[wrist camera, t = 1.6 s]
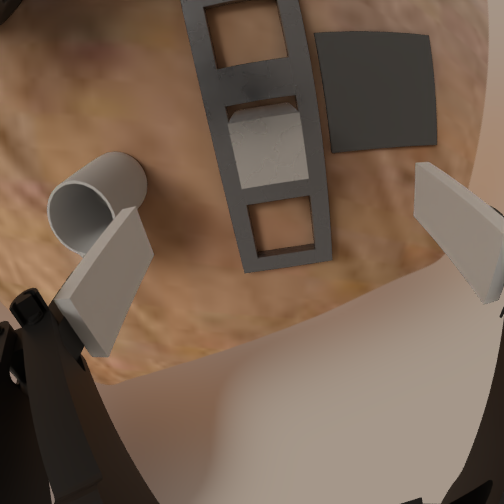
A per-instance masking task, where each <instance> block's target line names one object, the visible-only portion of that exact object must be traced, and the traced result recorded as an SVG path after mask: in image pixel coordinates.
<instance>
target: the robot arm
mask: <svg viewBox="0 0 504 504" xmlns="http://www.w3.org/2000/svg"><path fill="white" fill-rule="evenodd" d="M21 1H22V0H0V25H1V24H2V23H3V22H4V21H5V20H6V19H7V18H8V17H9V16H10V15H11V14H12V13H13V12H14V10H15V9H16V8H17V7H18V5H19V4H20V2H21ZM414 217H415V218H416V219H417V220H418V222H419V223H420V224H421V225H422V226H423V227H424V228H425V229H426V231H427V232H428V233H429V234H430V235H431V237H432V238H433V239H434V240H435V241H436V242H437V244H438V245H439V246H440V247H441V249H442V250H443V251H444V252H445V253H446V255H447V256H448V257H449V258H450V260H451V261H452V262H453V264H454V265H455V266H456V267H457V269H458V270H459V271H460V273H461V274H462V275H463V276H464V278H465V279H466V280H467V282H468V283H469V285H470V286H471V287H472V289H473V290H474V292H475V293H476V294H477V296H478V297H479V298H480V300H481V302H482V303H483V304H488V303H491V302H494V301H497V300H499V298H500V295H501V292H502V290H503V287H504V216H503V215H502V214H501V213H500V212H499V211H498V210H496V209H495V208H493V207H491V206H489V205H488V204H487V203H485V202H484V201H483V200H482V199H480V198H479V197H478V196H476V195H475V194H474V193H473V192H471V191H470V190H469V189H467V188H466V187H464V186H463V185H462V184H460V183H459V182H458V181H456V180H455V179H453V178H452V177H451V176H449V175H448V174H446V173H445V172H443V171H442V170H440V169H439V168H437V167H436V166H434V165H433V164H431V163H430V162H420V163H415V199H414ZM153 256H154V253H153V250H152V248H151V245H150V243H149V240H148V238H147V235H146V232H145V230H144V227H143V224H142V222H141V219H140V216H139V213H138V211H137V208H136V206H134V207H130V208H126V209H122V210H121V211H120V213H119V214H118V215H117V216H116V217H115V219H114V220H113V221H112V222H111V223H110V225H109V226H108V227H107V228H106V230H105V231H104V232H103V233H102V235H101V236H100V237H99V238H98V240H97V241H96V242H95V243H94V245H93V246H92V247H91V249H90V250H89V251H88V252H87V254H86V255H85V256H84V258H83V259H82V260H81V262H80V263H79V264H78V266H77V267H76V269H75V270H74V271H73V272H72V273H71V274H70V276H69V277H68V278H67V280H66V282H65V283H64V284H63V285H62V288H61V289H60V290H59V291H58V293H57V294H56V296H55V297H54V299H53V300H52V301H51V303H50V304H49V306H47V305H46V303H45V301H44V300H43V298H42V296H41V295H40V293H39V292H38V290H37V289H36V288H31V289H28V290H26V291H24V292H22V293H21V294H20V295H18V296H17V297H16V298H15V299H14V300H13V302H12V303H11V305H10V308H9V309H10V311H11V312H12V314H13V315H14V317H15V318H16V320H17V321H18V322H19V324H20V325H21V327H22V328H20V329H17V330H14V329H13V328H12V327H11V325H10V324H9V322H8V321H3V322H1V323H0V504H52V502H51V495H50V487H49V482H50V485H51V488H52V491H53V494H54V498H55V503H54V504H159V502H158V501H157V499H156V498H155V496H154V495H153V494H152V492H151V490H150V489H149V487H148V486H147V484H146V482H145V481H144V479H143V478H142V476H141V474H140V473H139V471H138V469H137V468H136V466H135V464H134V462H133V461H132V459H131V457H130V455H129V454H128V452H127V450H126V448H125V446H124V444H123V442H122V441H121V439H120V437H119V435H118V433H117V431H116V429H115V427H114V425H113V423H112V421H111V419H110V417H109V415H108V412H107V410H106V408H105V406H104V404H103V401H102V399H101V397H100V395H99V392H98V390H97V388H96V385H95V383H94V380H93V378H92V375H91V373H90V370H89V368H88V365H87V362H86V360H85V359H84V357H83V356H82V355H81V352H82V350H83V348H84V346H85V348H86V349H87V350H88V352H89V353H90V354H91V356H92V357H109V355H110V352H111V350H112V348H113V345H114V343H115V340H116V338H117V335H118V333H119V331H120V328H121V326H122V324H123V321H124V319H125V317H126V314H127V312H128V310H129V308H130V305H131V303H132V301H133V299H134V297H135V294H136V292H137V290H138V288H139V286H140V283H141V281H142V279H143V277H144V275H145V273H146V271H147V269H148V267H149V265H150V262H151V260H152V258H153ZM503 314H504V307H503V309H502V312H501V314H500V318H502V316H503ZM10 372H11V373H12V374H13V375H14V376H15V377H16V378H17V383H16V384H15V383H14V382H13V381H12V380H11V377H10ZM401 504H423V503H422V498H418V499H415V500H412V501H408V502H405V503H401ZM441 504H504V322H503V329H502V336H501V342H500V348H499V353H498V358H497V364H496V368H495V373H494V377H493V381H492V385H491V389H490V394H489V397H488V400H487V404H486V407H485V411H484V414H483V417H482V420H481V423H480V426H479V429H478V432H477V435H476V438H475V440H474V443H473V446H472V449H471V451H470V454H469V456H468V458H467V461H466V463H465V466H464V468H463V470H462V472H461V474H460V475H459V477H458V478H457V479H456V481H455V482H454V483H453V485H452V486H451V487H450V489H449V490H448V492H447V494H446V496H445V497H444V499H443V501H442V503H441Z"/></svg>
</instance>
